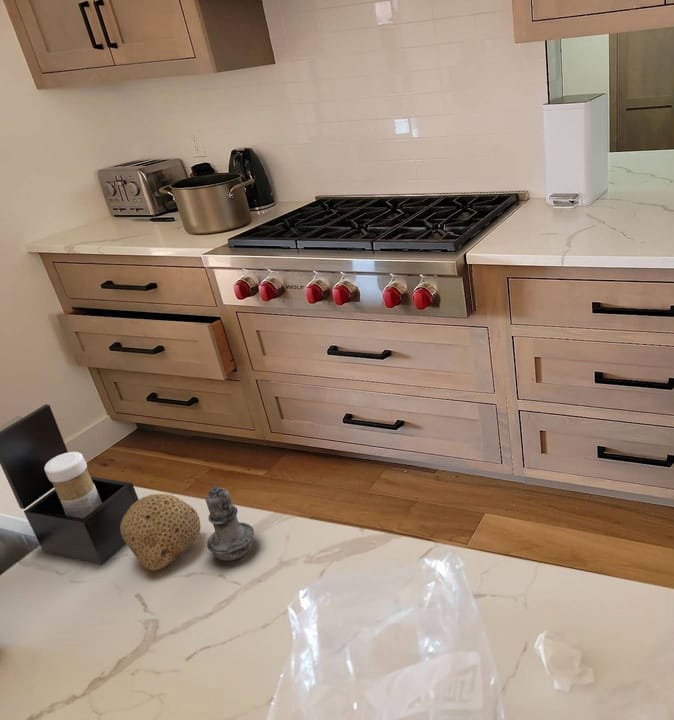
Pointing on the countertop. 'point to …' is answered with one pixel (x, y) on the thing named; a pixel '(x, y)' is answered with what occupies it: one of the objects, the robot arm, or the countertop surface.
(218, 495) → the grey chess piece
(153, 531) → the natural sponge
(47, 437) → the lid
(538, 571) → the countertop surface
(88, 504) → the sprinkles bottle
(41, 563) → the countertop surface
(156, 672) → the countertop surface
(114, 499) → the black open box
